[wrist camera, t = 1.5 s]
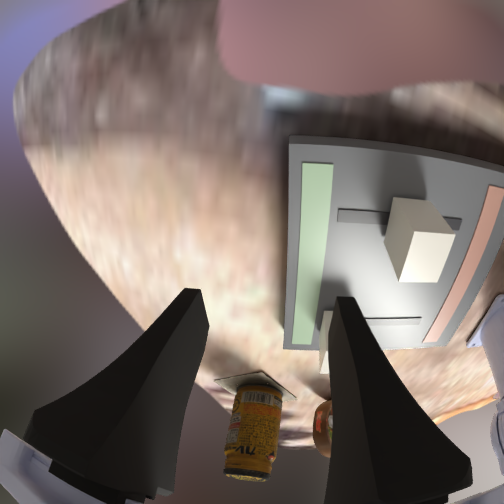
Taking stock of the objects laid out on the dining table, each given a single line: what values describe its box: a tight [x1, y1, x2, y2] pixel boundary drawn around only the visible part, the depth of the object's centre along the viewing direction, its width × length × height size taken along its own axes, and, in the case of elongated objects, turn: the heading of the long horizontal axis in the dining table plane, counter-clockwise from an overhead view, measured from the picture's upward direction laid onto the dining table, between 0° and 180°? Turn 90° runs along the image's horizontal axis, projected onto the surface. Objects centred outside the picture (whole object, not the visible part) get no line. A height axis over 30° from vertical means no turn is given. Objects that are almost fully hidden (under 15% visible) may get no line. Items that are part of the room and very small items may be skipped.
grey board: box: [283, 135, 504, 350], centre depth 18 cm, size 16×17×2 cm
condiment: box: [214, 372, 297, 481], centre depth 29 cm, size 7×8×12 cm
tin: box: [313, 400, 333, 457], centre depth 31 cm, size 15×3×8 cm, turn 45°
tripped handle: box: [384, 197, 456, 283], centre depth 13 cm, size 2×3×4 cm
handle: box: [319, 311, 333, 374], centre depth 19 cm, size 2×3×4 cm
